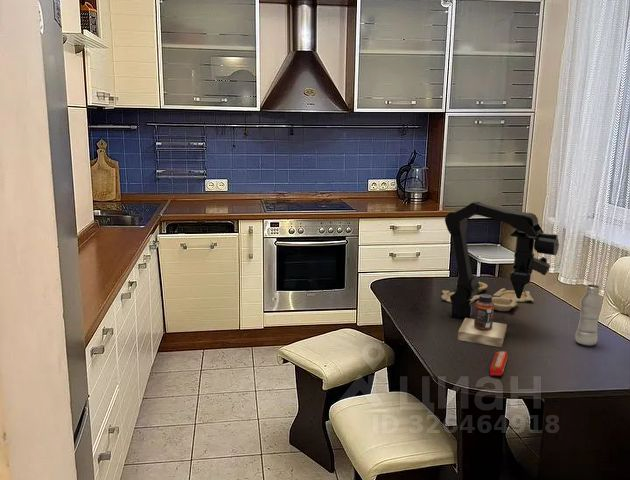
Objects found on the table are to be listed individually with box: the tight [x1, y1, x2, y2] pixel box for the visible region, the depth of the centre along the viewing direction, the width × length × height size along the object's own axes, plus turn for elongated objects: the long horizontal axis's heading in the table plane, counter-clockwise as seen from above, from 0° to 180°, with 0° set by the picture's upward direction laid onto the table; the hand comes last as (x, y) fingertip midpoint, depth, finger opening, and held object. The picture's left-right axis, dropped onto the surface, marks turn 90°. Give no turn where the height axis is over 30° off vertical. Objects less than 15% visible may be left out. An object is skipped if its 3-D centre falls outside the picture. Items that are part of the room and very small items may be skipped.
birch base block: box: [457, 317, 508, 348], centre depth 193 cm, size 14×14×3 cm
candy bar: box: [489, 350, 509, 377], centre depth 170 cm, size 16×4×3 cm, turn 155°
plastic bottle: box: [574, 283, 603, 347], centre depth 186 cm, size 6×7×20 cm
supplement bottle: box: [473, 293, 495, 330], centre depth 192 cm, size 6×6×11 cm
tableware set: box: [440, 281, 535, 312], centre depth 232 cm, size 35×29×4 cm
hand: (519, 294), depth 196 cm, fingers open, 9 cm apart
